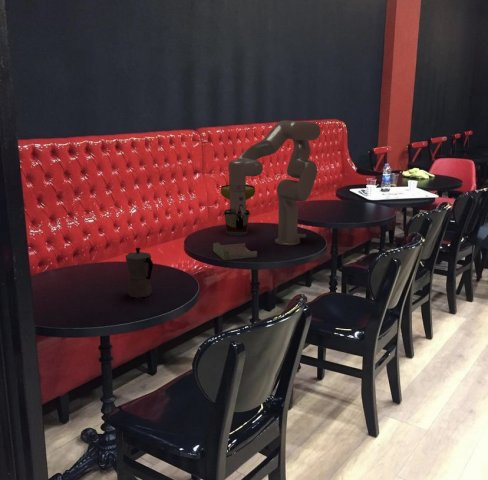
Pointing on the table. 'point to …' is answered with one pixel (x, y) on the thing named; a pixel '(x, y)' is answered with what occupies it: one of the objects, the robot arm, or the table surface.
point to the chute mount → (233, 251)
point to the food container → (231, 221)
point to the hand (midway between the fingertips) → (237, 226)
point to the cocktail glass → (248, 194)
